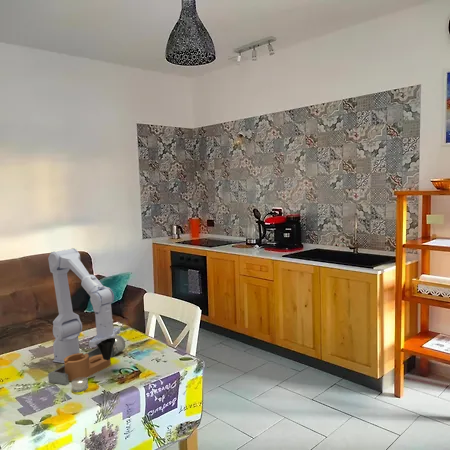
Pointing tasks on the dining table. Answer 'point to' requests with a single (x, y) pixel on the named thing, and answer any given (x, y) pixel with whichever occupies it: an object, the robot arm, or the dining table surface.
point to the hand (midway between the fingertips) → (107, 359)
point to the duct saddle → (119, 345)
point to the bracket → (84, 365)
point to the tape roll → (79, 384)
